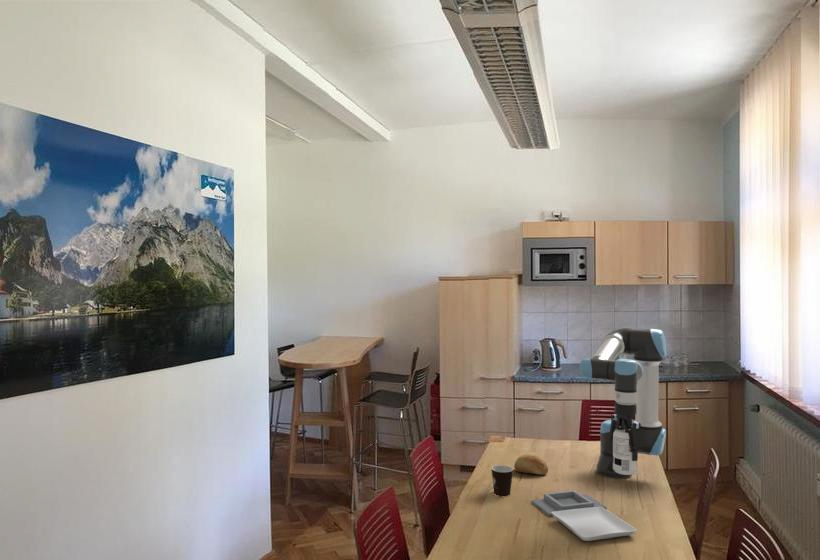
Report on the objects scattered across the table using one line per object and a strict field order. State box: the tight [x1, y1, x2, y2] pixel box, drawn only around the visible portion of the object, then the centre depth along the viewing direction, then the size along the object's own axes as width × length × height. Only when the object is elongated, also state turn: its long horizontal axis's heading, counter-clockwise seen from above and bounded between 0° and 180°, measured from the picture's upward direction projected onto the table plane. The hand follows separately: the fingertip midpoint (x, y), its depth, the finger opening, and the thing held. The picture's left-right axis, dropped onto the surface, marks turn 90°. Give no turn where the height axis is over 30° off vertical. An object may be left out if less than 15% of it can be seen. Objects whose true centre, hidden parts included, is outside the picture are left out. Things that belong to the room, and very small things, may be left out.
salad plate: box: [551, 507, 638, 542], centre depth 207 cm, size 21×21×3 cm
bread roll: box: [514, 454, 549, 476], centre depth 264 cm, size 10×15×8 cm, turn 64°
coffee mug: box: [490, 464, 514, 497], centre depth 241 cm, size 12×9×10 cm
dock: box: [530, 489, 608, 518], centre depth 227 cm, size 24×14×3 cm, turn 107°
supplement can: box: [613, 428, 638, 476], centre depth 216 cm, size 8×8×15 cm
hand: (624, 465), depth 216 cm, fingers closed on supplement can, 8 cm apart
